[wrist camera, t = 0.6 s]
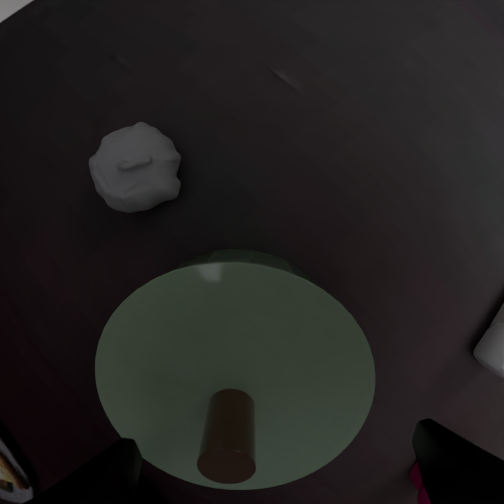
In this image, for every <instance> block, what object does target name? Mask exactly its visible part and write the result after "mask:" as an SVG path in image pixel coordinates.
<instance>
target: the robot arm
mask: <svg viewBox="0 0 504 504" xmlns="http://www.w3.org/2000/svg"><path fill="white" fill-rule="evenodd" d="M412 443H413V447H414V451H415V455H416V459H417V463H418V467H419V471H420V475H421V478H422V481H423V484H424V487H425V490H426V492H427V495H428V497H429V500H430V503H431V504H504V460H502V459H500V458H498V457H496V456H495V455H493V454H491V453H489V452H487V451H486V450H484V449H482V448H480V447H478V446H477V445H475V444H473V443H471V442H470V441H468V440H466V439H464V438H463V437H461V436H459V435H458V434H456V433H454V432H452V431H451V430H449V429H447V428H446V427H444V426H442V425H441V424H439V423H437V422H436V421H434V420H432V419H430V418H428V419H424V420H420V421H419V422H418V423H417V425H416V428H415V432H414V435H413V439H412ZM141 463H142V455H141V452H140V450H139V448H138V446H137V443H136V441H135V440H134V439H132V438H125V437H123V438H120V439H119V440H118V441H116V442H115V443H114V444H112V445H111V446H109V447H108V448H107V449H105V450H104V451H102V452H101V453H100V454H98V455H97V456H95V457H94V458H93V459H91V460H90V461H88V462H87V463H85V464H84V465H83V466H81V467H80V468H78V469H77V470H75V471H74V472H72V473H71V474H69V475H68V476H66V477H65V478H63V479H62V480H60V481H59V482H57V483H56V484H54V485H53V486H51V487H50V488H48V489H47V490H45V491H43V492H42V493H40V494H39V495H37V496H35V497H34V498H32V499H30V500H28V501H26V502H24V503H22V504H167V503H166V502H165V500H164V499H163V498H162V497H161V496H160V495H159V494H158V493H157V492H156V490H155V489H154V488H153V487H152V486H151V485H150V483H149V482H148V481H147V480H146V479H145V477H143V476H142V475H139V474H140V468H141Z"/></svg>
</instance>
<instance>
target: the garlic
mask: <svg viewBox="0 0 504 504" xmlns="http://www.w3.org/2000/svg"><path fill="white" fill-rule="evenodd" d="M180 161H181V156H180V154H179V153H178V152H176V150H175V147H174V144H173V142H172V141H171V140H170V139H169V138H168V137H167V136H165V135H163V134H162V133H161V132H160V131H159V130H158V129H156V128H154V127H151V126H149V125H148V124H146V123H144V122H139V123H137V124H135V125H134V126H131V127H125V128H122V129H120V130H118V131H114V132H112V133H110V134H109V135H107V136H105V137H104V138H103V139H102V141H101V145H100V148H99V149H98V151H97V152H96V154H95V155H94V156H92V157H91V158H90V160H89V167H90V172H91V176H92V179H93V181H94V182H95V188H96V191H97V192H98V193H99V194H100V195H101V197H102V198H103V199H105V201H106V203H107V205H108V206H110V207H111V208H113V209H115V210H118V211H123V212H126V213H134V212H137V211H144V210H149V209H151V208H153V207H154V206H156V205H158V204H159V203H161V202H164V201H167V200H173V199H175V198H176V197H177V196H178V194H179V189H180V181H179V180H178V178H177V175H176V173H177V171H178V168H179V164H180Z"/></svg>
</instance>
